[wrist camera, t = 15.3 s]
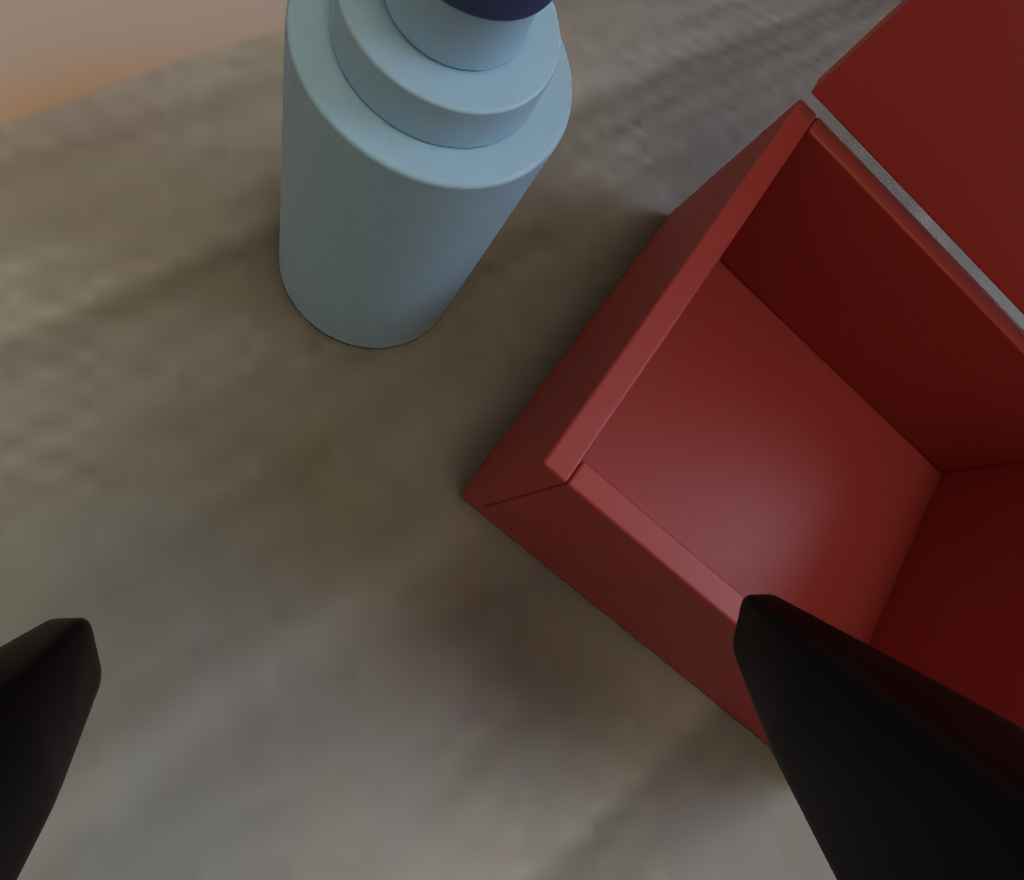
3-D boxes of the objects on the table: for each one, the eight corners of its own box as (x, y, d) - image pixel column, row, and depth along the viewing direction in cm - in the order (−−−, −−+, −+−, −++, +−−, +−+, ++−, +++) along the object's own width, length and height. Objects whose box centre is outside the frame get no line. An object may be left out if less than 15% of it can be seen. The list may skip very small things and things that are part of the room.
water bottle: (372, 384, 19) (515, 125, 8) (238, 254, 19) (190, -226, 7) (484, 278, 21) (728, -53, 10) (367, 156, 21) (485, -343, 9)
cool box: (812, 781, 22) (1015, 861, 16) (458, 495, 20) (541, 463, 14) (941, 473, 27) (1136, 446, 21) (670, 213, 24) (801, 97, 18)
